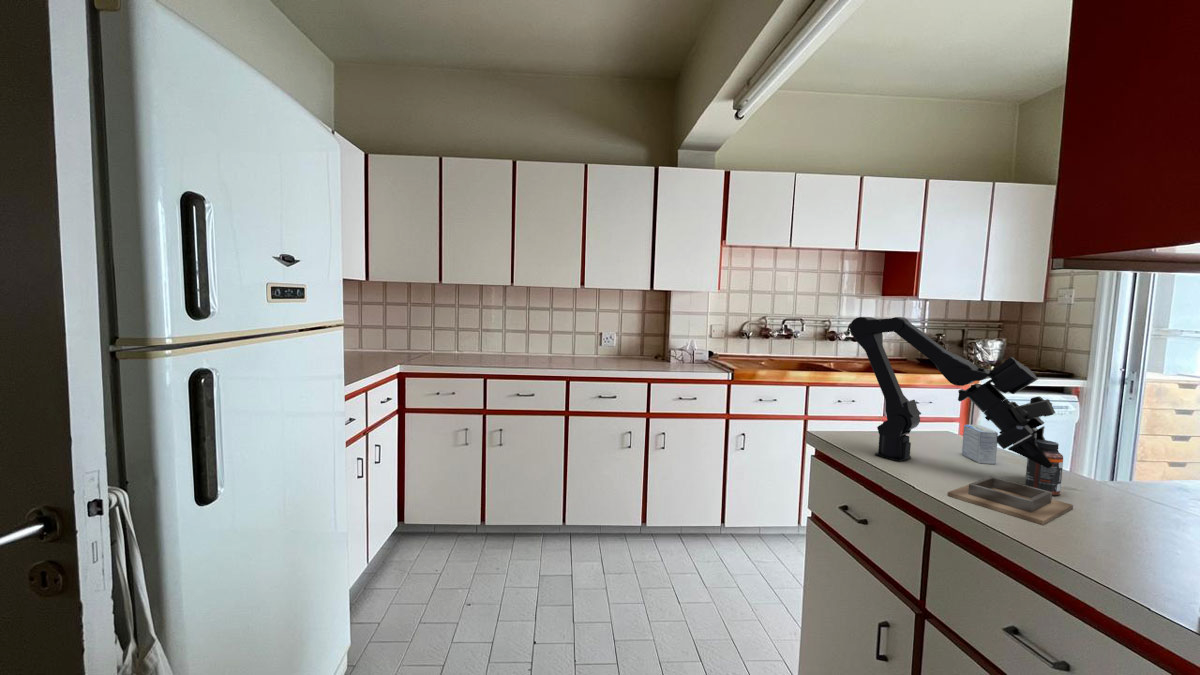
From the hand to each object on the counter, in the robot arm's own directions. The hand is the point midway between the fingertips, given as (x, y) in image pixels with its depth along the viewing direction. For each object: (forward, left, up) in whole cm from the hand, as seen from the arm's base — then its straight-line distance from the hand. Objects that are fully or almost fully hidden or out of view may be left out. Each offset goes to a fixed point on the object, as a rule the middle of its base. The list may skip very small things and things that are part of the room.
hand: (1053, 464), depth 110 cm
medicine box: (-19, +15, -7) cm, 25 cm away
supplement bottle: (-1, 0, -7) cm, 7 cm away
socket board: (-2, -15, -7) cm, 17 cm away
